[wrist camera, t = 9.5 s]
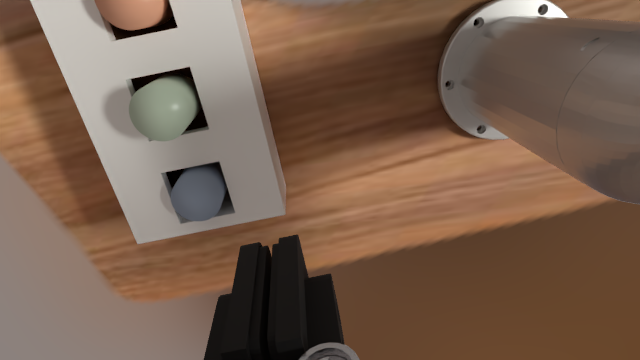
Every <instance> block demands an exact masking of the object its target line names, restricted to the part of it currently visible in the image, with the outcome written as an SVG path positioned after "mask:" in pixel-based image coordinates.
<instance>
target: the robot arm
mask: <svg viewBox="0 0 640 360" xmlns="http://www.w3.org/2000/svg"><path fill="white" fill-rule="evenodd" d="M538 8H540V9H539V11H538ZM475 19H476V20H477V24H476V25H474V21H475ZM447 81H449V84H448V85H447V86H445V83H446V82H447ZM438 91H439V95H440V100H441V102H442V105H443V107H444V109H445V111H446V113H447V114H448V115H449V117H450V118H451V120H452V121H453V122H454V123H456V124H457V125H458V126H459V127H460V128H462V129H463V130H465V131H466V132H468V133H469V134H472V135H474V136H476V137H479V138H484V139H490V140H504V139H509V138H510V139H512V140H514V141H515V142H517V143H518V144H520V145H522V146H523V147H525V148H527V149H528V150H530V151H531V152H533V153H535V154H536V155H538V156H540V157H541V158H543V159H544V160H546V161H548V162H549V163H551V164H553V165H554V166H556V167H557V168H559V169H561V170H562V171H564V172H566V173H567V174H569V175H570V176H572V177H574V178H575V179H577V180H579V181H580V182H582V183H584V184H586V185H588V186H589V187H591V188H592V189H594V190H596V191H598V192H600V193H602V194H604V195H606V196H608V197H611V198H614V199H617V200H620V201H624V202H629V203H635V204H640V22H630V21H613V20H595V19H578V18H569V17H568V16H567V15H566V14H565V12H564V11H563V10H562V9H561V8H560V7H558V6H557V5H555V4H554V3H552V2H551V1H548V0H494V1H491V2H489V3H487V4H485V5H483V6H481V7H480V8H478V9H477V10H475V11H474V12H472V13H471V14H470V15H469V16H468V17H467V18H466V19H465V20H464V21H462V22H461V24H460V25H459V26H458V27H457V29H456V30H455V31H454V33H453V34H452V35H451V37H450V39H449V41H448V43H447V44H446V46H445V48H444V51H443V54H442V57H441V60H440V64H439V70H438ZM478 126H480V127H479V128H478ZM477 128H478V129H477ZM204 360H359V358H358V357H357V355H356V353H355V352H354V351H353V350H352V349H351V348H349V347H348V346H346V345H345V344H344V338H343V332H342V326H341V320H340V315H339V310H338V305H337V299H336V295H335V290H334V285H333V281H332V276H331V274H326V275H321V276H316V277H311V278H309V277H308V273H307V269H306V265H305V261H304V257H303V253H302V249H301V245H300V241H299V237H298V235H293V236H288V237H283V238H279V243H278V244H273V248H272V257H271V253H270V250H269V247H268V246H263V247H262V245H261V243H260V242H258V243H253V244H248V245H243V246H241V247H240V252H239V257H238V262H237V268H236V273H235V278H234V283H233V288H232V293H231V294H226V295H221V296H220V297H219V298H218V302H217V305H216V310H215V314H214V318H213V323H212V327H211V331H210V336H209V340H208V344H207V348H206V352H205V357H204Z"/></svg>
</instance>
